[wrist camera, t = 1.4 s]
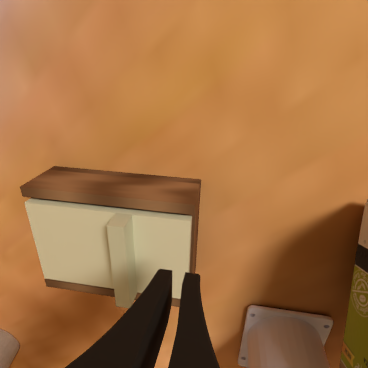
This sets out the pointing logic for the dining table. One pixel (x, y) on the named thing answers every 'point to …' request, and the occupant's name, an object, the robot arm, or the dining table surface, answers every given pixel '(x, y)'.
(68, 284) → the walnut box
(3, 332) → the house plant
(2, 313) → the dining table surface
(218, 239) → the dining table surface
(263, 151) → the dining table surface
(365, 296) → the tea box
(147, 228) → the cover plate
